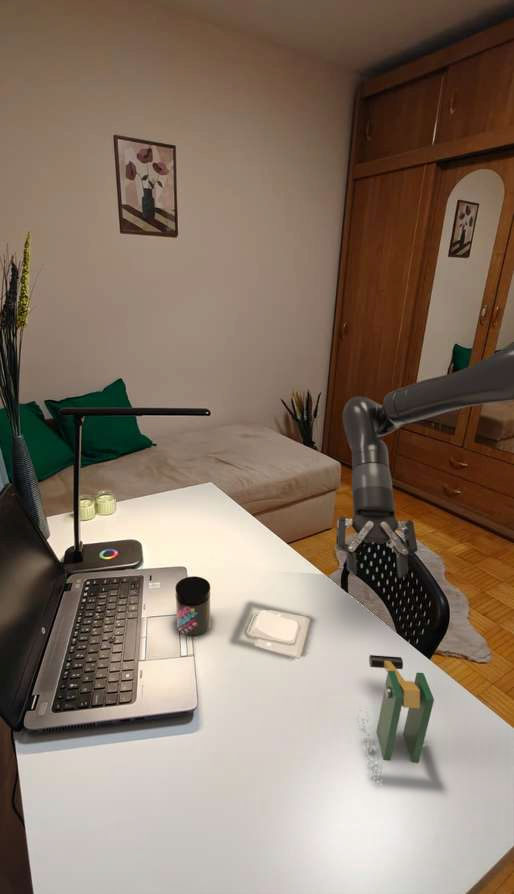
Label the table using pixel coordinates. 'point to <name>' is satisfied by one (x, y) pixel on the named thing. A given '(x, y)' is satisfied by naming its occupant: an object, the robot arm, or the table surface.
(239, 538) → the table surface
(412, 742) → the bracket
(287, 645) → the light switch
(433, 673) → the table surface
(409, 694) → the lever
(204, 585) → the supplement container
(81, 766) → the table surface
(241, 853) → the table surface
